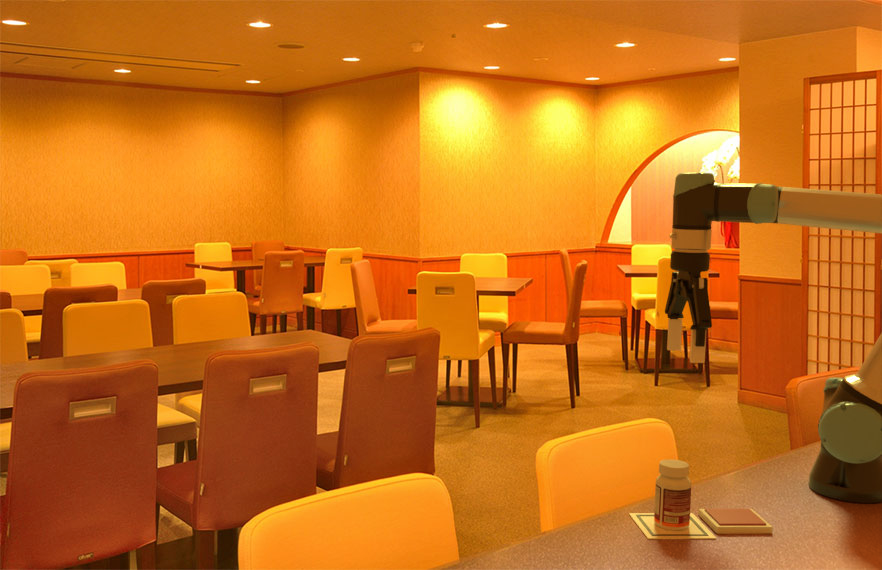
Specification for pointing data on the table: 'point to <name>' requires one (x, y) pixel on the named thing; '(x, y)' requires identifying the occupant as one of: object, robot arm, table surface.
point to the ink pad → (735, 521)
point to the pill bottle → (673, 495)
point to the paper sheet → (655, 532)
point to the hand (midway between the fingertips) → (685, 356)
